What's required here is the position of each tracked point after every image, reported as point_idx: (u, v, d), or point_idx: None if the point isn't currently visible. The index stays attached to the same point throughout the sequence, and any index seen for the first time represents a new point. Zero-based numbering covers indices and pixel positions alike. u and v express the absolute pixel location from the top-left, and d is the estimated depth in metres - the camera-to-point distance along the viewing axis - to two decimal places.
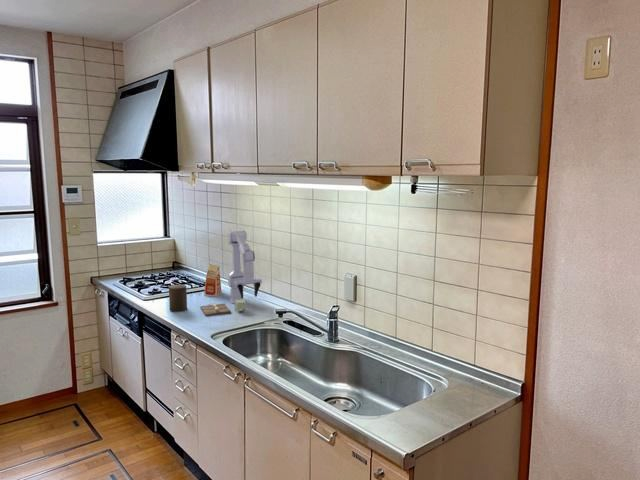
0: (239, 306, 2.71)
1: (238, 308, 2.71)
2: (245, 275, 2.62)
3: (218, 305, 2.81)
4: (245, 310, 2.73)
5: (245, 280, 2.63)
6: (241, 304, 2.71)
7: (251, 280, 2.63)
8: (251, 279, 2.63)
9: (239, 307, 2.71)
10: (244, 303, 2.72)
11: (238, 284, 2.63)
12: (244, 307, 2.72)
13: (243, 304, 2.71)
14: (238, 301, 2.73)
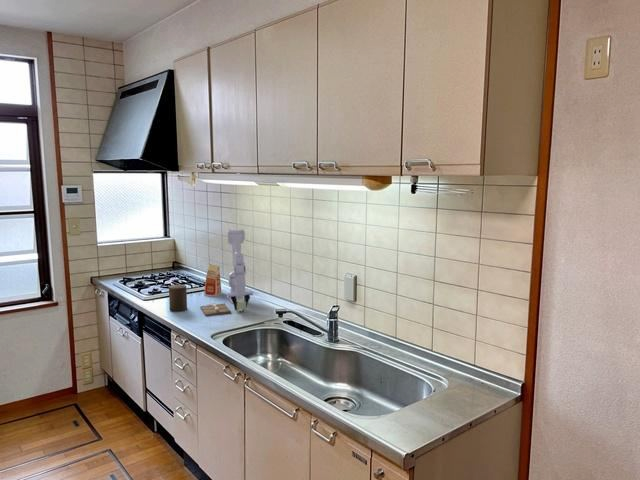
0: (239, 306, 2.71)
1: (238, 308, 2.71)
2: (237, 288, 2.70)
3: (218, 305, 2.81)
4: (245, 310, 2.72)
5: (237, 292, 2.70)
6: (241, 304, 2.71)
7: (242, 292, 2.71)
8: (242, 291, 2.71)
9: (239, 307, 2.71)
10: (244, 303, 2.72)
11: (230, 296, 2.71)
12: (244, 307, 2.72)
13: (243, 304, 2.71)
14: (238, 301, 2.73)
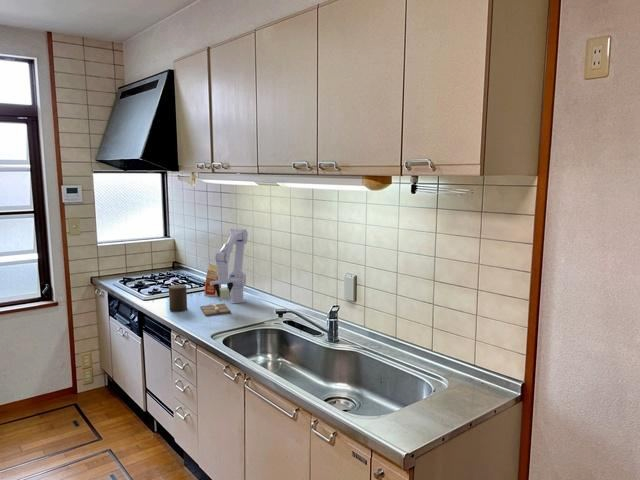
0: (222, 294, 2.70)
1: (221, 296, 2.70)
2: (219, 275, 2.69)
3: (218, 305, 2.81)
4: (228, 298, 2.72)
5: (219, 280, 2.70)
6: (224, 292, 2.70)
7: (225, 280, 2.70)
8: (225, 279, 2.70)
9: (223, 295, 2.70)
10: (227, 291, 2.71)
11: (213, 284, 2.70)
12: (227, 295, 2.71)
13: (226, 292, 2.71)
14: (221, 289, 2.72)
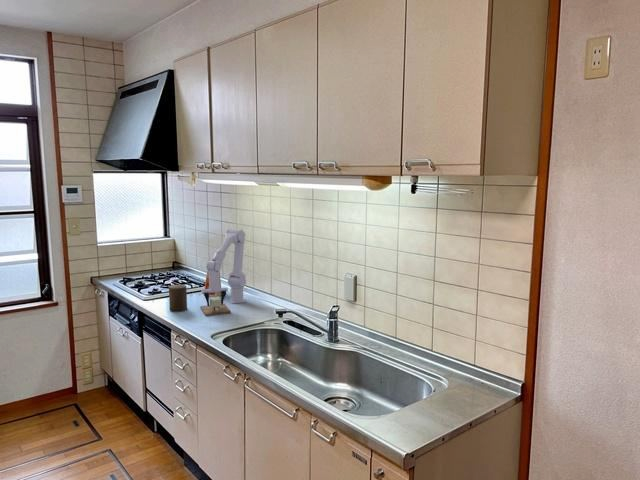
0: (213, 304, 2.71)
1: (212, 305, 2.71)
2: (211, 284, 2.70)
3: None
4: (220, 307, 2.73)
5: (211, 289, 2.71)
6: (215, 302, 2.71)
7: (217, 288, 2.71)
8: (217, 288, 2.71)
9: (214, 304, 2.71)
10: (218, 301, 2.72)
11: (204, 292, 2.71)
12: (219, 304, 2.73)
13: (217, 301, 2.72)
14: (213, 298, 2.73)
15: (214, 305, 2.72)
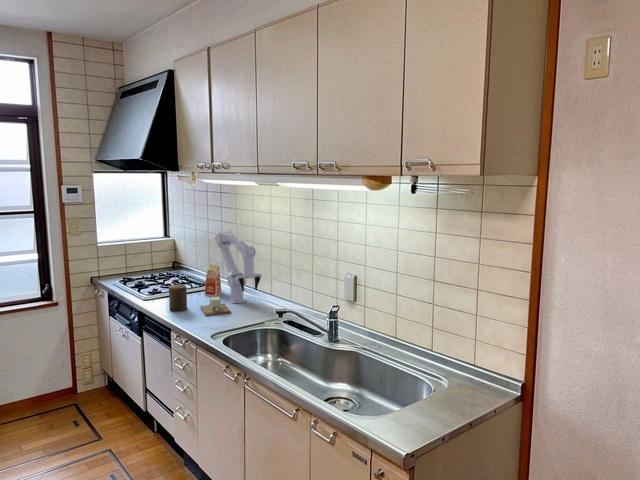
0: (213, 304, 2.71)
1: (212, 305, 2.71)
2: (246, 269, 2.79)
3: None
4: (220, 307, 2.73)
5: (246, 274, 2.80)
6: (215, 302, 2.71)
7: (251, 274, 2.80)
8: (251, 273, 2.80)
9: (214, 304, 2.71)
10: (218, 301, 2.72)
11: (239, 278, 2.80)
12: (219, 304, 2.73)
13: (217, 301, 2.72)
14: (213, 298, 2.73)
15: (214, 305, 2.72)
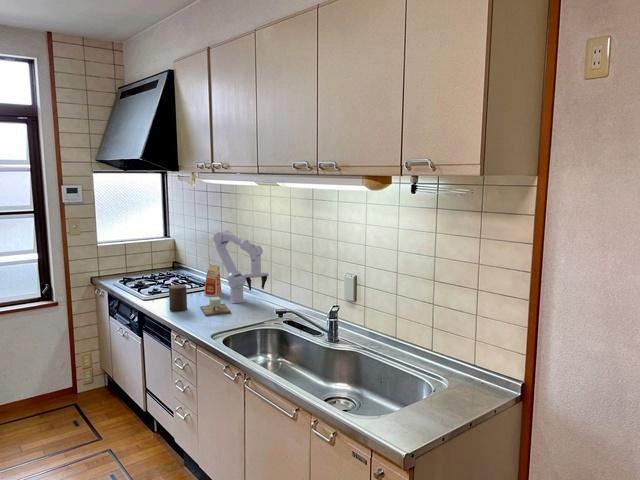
0: (213, 304, 2.71)
1: (212, 305, 2.71)
2: (253, 269, 2.81)
3: None
4: (220, 307, 2.73)
5: (253, 273, 2.82)
6: (215, 302, 2.71)
7: (258, 273, 2.82)
8: (258, 272, 2.82)
9: (214, 304, 2.71)
10: (218, 301, 2.72)
11: (246, 277, 2.82)
12: (219, 304, 2.73)
13: (217, 301, 2.72)
14: (213, 298, 2.73)
15: (214, 305, 2.72)
